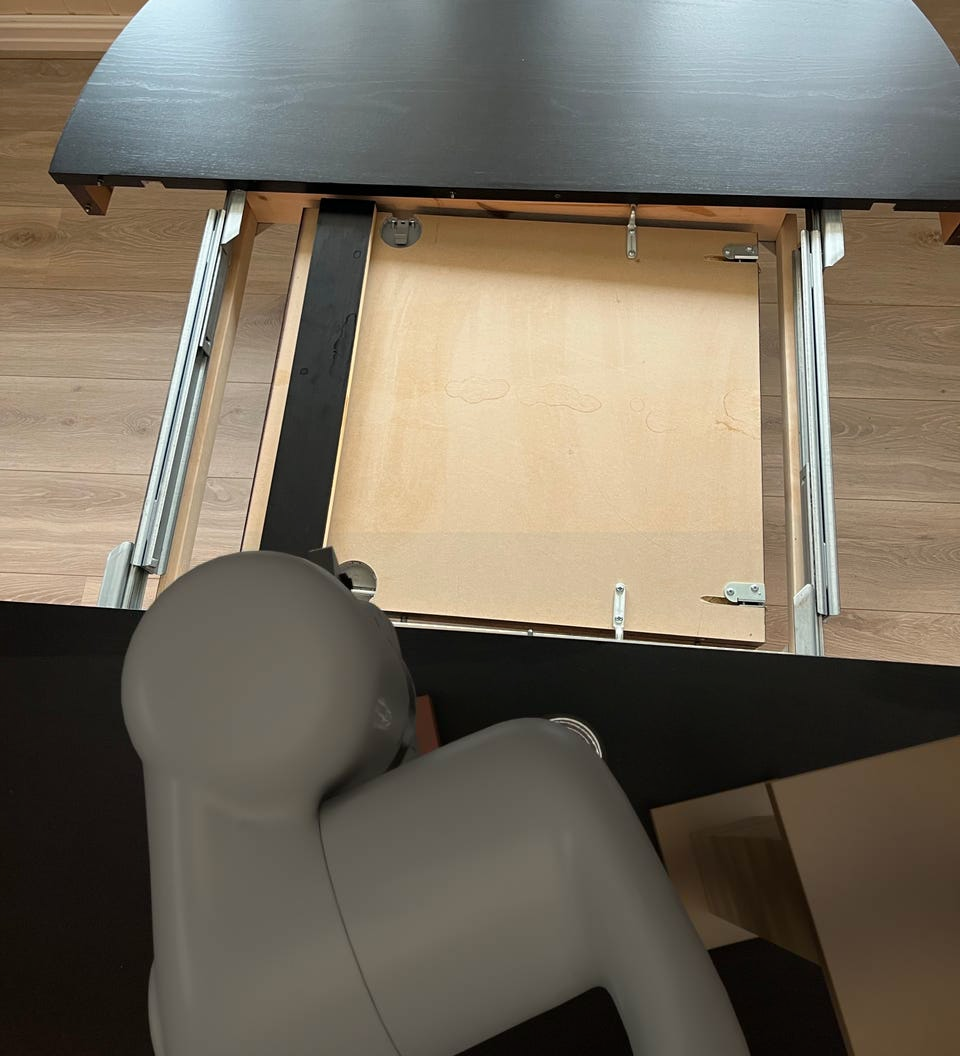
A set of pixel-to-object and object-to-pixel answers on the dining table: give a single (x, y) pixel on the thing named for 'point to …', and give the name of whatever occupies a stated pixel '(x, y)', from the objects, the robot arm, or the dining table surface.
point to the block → (426, 725)
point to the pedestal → (840, 886)
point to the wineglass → (580, 731)
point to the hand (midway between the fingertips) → (373, 737)
